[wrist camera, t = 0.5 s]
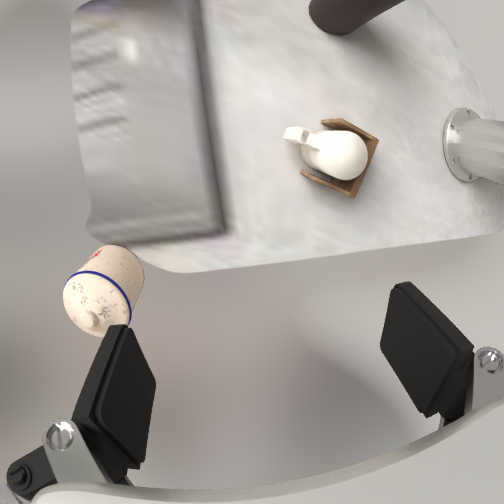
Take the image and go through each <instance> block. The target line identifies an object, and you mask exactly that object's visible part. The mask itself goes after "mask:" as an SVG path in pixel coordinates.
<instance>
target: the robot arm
mask: <svg viewBox="0 0 504 504" xmlns="http://www.w3.org/2000/svg"><path fill="white" fill-rule="evenodd" d="M443 146H444V153H445V158H446V161H447V164H448V166H449V168H450V170H451V171H452V173H453V174H454V175H455V176H456V177H457V178H458V179H460V180H463V181H466V182H472V181H475V180H477V179H478V178H479V177H483V178H486V179H489V180H492V181H494V182H495V183H496V184H503V185H504V122H502V121H495V120H487V119H481V118H480V117H479V116H478V115H477V114H476V113H475V112H474V111H472V110H471V109H467V108H459V109H456V110H455V111H453V112H452V113H451V114H450V116H449V118H448V119H447V122H446V125H445V129H444V136H443ZM380 348H381V351H382V353H383V354H384V355H385V357H386V359H387V361H388V362H389V364H390V365H391V367H392V368H393V370H394V372H395V373H396V375H397V376H398V378H399V380H400V381H401V383H402V384H403V386H404V388H405V389H406V391H407V393H408V394H409V396H410V398H411V399H412V401H413V403H414V404H415V406H416V408H417V410H418V411H419V412H420V413H423V414H424V415H425V417H426V418H428V417H430V416H432V415H434V414H436V413H438V412H439V413H440V415H441V419H440V424H439V428H438V430H437V431H435V432H433V433H431V434H429V435H427V436H425V437H423V438H421V439H419V440H417V441H415V442H413V443H410V444H408V445H406V446H403V447H401V448H399V449H396V450H394V451H391V452H389V453H387V454H384V455H381V456H378V457H376V458H373V459H370V460H367V461H364V462H361V463H358V464H355V465H352V466H349V467H346V468H342V469H339V470H336V471H332V472H328V473H324V474H320V475H316V476H311V477H307V478H302V479H297V480H292V481H287V482H281V483H274V484H267V485H260V486H251V487H241V488H228V489H205V490H204V489H203V490H201V489H200V490H191V489H160V488H146V487H136V486H134V485H133V484H132V482H131V481H130V480H129V478H128V477H127V470H128V468H129V469H140V463H142V462H144V460H145V455H146V447H147V439H148V433H149V426H150V419H151V413H152V406H153V401H154V395H155V389H156V381H155V378H154V376H153V374H152V372H151V370H150V368H149V366H148V363H147V361H146V359H145V357H144V355H143V353H142V350H141V348H140V346H139V344H138V342H137V339H136V337H135V335H134V332H133V330H132V329H131V328H128V327H127V325H126V324H117V325H110V326H109V327H108V330H107V332H106V334H105V336H104V338H103V340H102V343H101V345H100V347H99V350H98V352H97V354H96V356H95V359H94V361H93V364H92V366H91V368H90V370H89V373H88V375H87V378H86V380H85V383H84V386H83V388H82V391H81V393H80V396H79V398H78V401H77V404H76V406H75V409H74V412H73V416H72V419H71V420H69V419H65V418H61V419H57V420H54V421H52V422H51V423H50V424H49V425H48V426H47V427H46V428H45V430H44V432H43V437H42V441H43V445H42V446H41V447H39V448H37V449H36V450H34V451H32V452H31V453H29V454H27V455H25V456H24V457H22V458H20V459H19V460H17V461H15V462H14V463H12V464H11V465H10V467H9V468H8V471H7V483H5V482H3V483H2V484H1V485H0V504H504V355H503V354H502V353H501V352H500V351H498V350H496V349H495V348H491V347H483V348H480V349H478V350H477V351H476V353H475V354H474V352H473V351H472V350H473V348H474V345H473V344H472V343H471V342H470V341H469V340H468V339H467V338H466V337H465V336H464V335H463V333H462V332H461V331H460V330H459V329H458V328H457V327H456V326H455V325H454V324H453V323H452V322H451V321H450V320H449V319H448V318H447V317H446V316H445V315H444V314H443V313H442V312H441V311H440V310H439V309H438V308H437V307H436V306H435V305H434V304H433V303H432V302H431V301H430V300H429V299H428V298H427V297H426V296H425V295H424V294H423V293H422V292H421V291H420V290H419V289H418V288H417V287H416V286H414V285H413V284H412V283H411V282H403V283H399V284H396V285H395V286H394V288H393V289H392V290H391V293H390V298H389V303H388V308H387V313H386V318H385V323H384V328H383V332H382V337H381V341H380Z"/></svg>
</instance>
